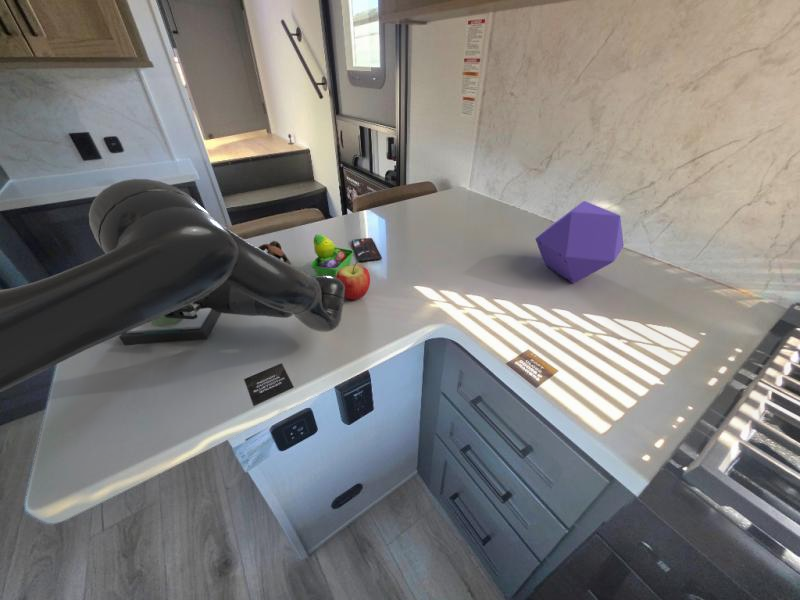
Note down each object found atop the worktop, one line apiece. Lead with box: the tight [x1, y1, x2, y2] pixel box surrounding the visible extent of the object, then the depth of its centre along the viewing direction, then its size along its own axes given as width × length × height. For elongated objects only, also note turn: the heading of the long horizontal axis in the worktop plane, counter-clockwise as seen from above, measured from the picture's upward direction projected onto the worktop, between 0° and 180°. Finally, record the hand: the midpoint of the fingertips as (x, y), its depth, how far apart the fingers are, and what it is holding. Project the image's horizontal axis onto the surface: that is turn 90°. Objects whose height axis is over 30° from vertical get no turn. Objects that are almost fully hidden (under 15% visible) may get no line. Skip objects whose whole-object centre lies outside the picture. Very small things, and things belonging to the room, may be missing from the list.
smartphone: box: [351, 237, 383, 263], centre depth 101 cm, size 7×1×15 cm
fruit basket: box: [310, 234, 354, 278], centre depth 86 cm, size 11×9×11 cm
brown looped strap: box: [257, 240, 292, 265], centre depth 90 cm, size 12×9×8 cm
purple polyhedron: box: [535, 200, 625, 285], centre depth 87 cm, size 22×20×20 cm
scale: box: [119, 308, 222, 346], centre depth 71 cm, size 16×16×3 cm
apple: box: [336, 259, 371, 300], centre depth 78 cm, size 8×8×10 cm
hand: (167, 288), depth 63 cm, fingers open, 8 cm apart
